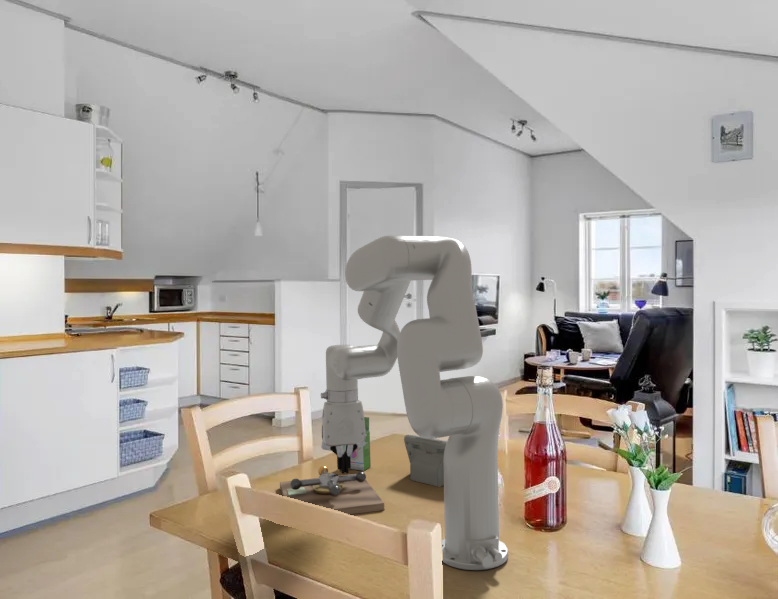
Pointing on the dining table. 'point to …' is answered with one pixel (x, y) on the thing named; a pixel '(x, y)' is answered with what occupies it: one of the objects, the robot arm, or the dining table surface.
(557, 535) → the dining table surface
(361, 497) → the stand
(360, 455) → the ink box
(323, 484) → the capstan
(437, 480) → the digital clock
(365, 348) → the robot arm
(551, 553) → the dining table surface
